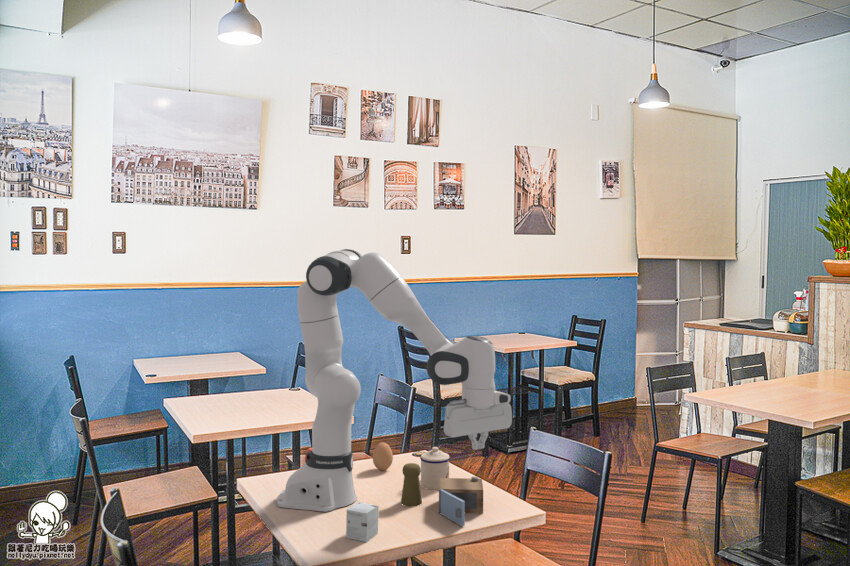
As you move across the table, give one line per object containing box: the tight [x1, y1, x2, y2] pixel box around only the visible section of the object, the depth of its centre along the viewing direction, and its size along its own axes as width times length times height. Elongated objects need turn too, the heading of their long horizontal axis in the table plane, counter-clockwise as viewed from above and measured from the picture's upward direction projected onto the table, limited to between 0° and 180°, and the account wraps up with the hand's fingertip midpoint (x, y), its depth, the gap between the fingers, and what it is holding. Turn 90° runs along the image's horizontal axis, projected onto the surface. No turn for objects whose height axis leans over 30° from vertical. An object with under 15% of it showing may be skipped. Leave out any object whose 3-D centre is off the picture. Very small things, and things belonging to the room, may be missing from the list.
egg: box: [372, 441, 394, 472], centre depth 216 cm, size 7×7×9 cm
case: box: [439, 476, 484, 514], centre depth 185 cm, size 12×9×7 cm
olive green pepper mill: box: [400, 462, 423, 507], centre depth 188 cm, size 6×6×11 cm
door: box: [438, 489, 466, 527], centre depth 175 cm, size 11×2×6 cm, turn 33°
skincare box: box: [345, 501, 379, 543], centre depth 165 cm, size 6×6×7 cm
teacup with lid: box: [419, 446, 451, 490], centre depth 203 cm, size 12×9×12 cm
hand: (478, 448), depth 176 cm, fingers closed
